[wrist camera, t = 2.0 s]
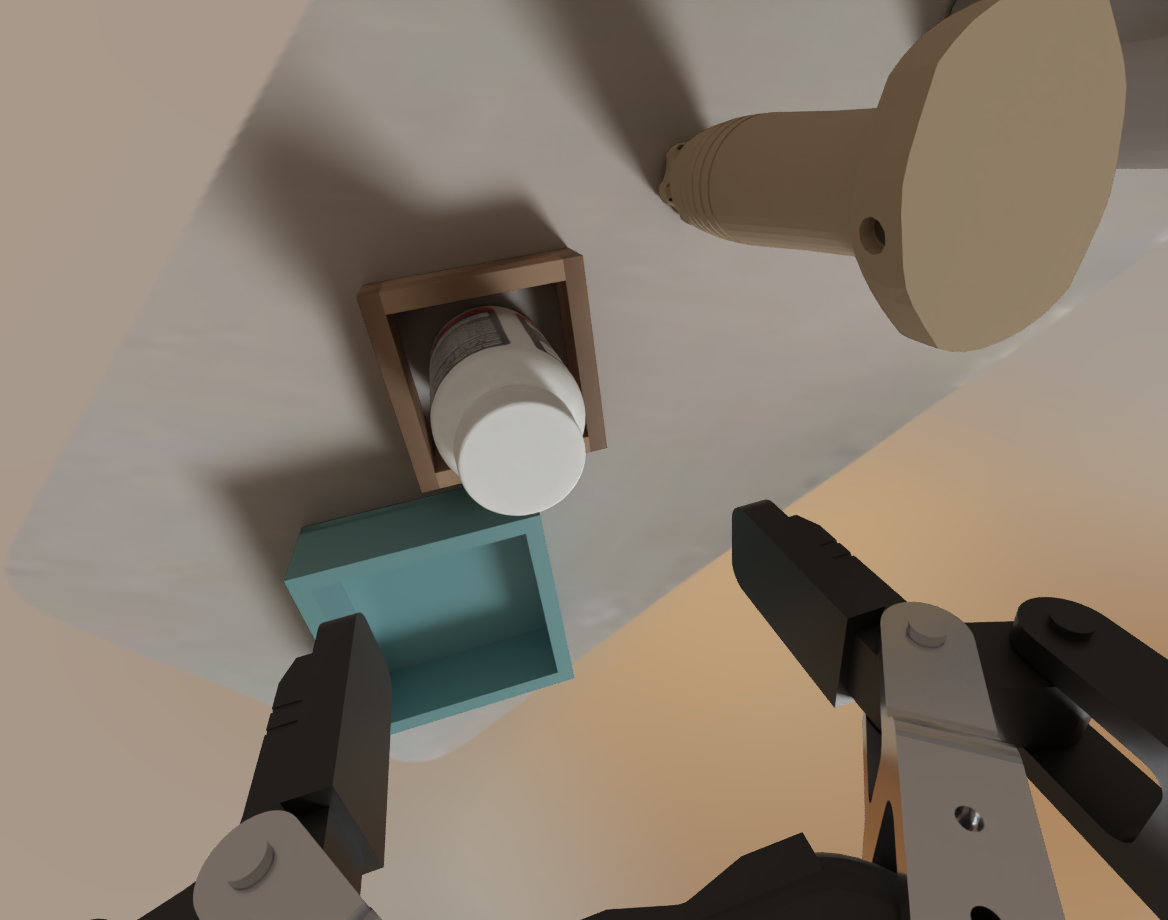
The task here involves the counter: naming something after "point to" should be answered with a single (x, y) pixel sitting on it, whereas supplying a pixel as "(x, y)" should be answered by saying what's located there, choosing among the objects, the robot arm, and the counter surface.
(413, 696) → the tray
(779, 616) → the robot arm
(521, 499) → the pill bottle
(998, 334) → the handle
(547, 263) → the brown open box
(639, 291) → the counter surface
